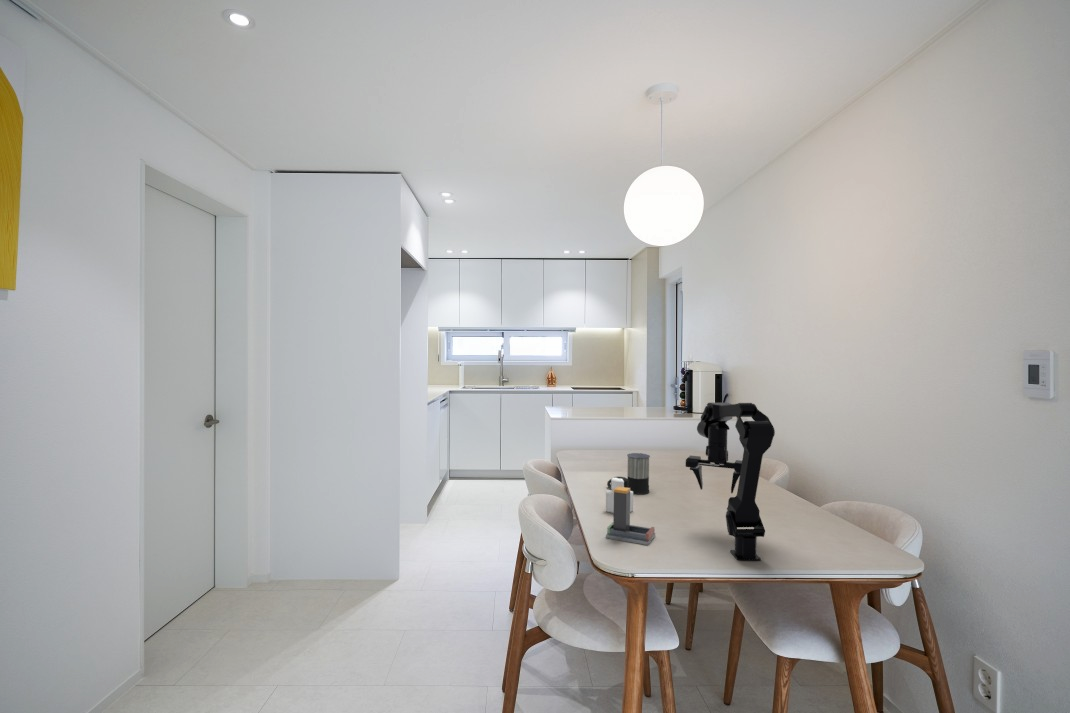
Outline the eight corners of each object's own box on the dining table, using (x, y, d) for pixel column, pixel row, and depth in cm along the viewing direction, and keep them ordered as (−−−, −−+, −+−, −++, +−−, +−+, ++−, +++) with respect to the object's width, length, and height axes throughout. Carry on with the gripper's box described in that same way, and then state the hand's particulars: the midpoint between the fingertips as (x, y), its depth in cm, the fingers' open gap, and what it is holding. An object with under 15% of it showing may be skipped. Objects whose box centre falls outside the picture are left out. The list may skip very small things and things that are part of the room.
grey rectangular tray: (655, 535, 169) (655, 526, 169) (647, 545, 161) (647, 535, 161) (615, 529, 175) (615, 519, 175) (605, 537, 167) (605, 528, 167)
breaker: (629, 530, 170) (630, 488, 170) (625, 534, 167) (626, 491, 166) (617, 528, 172) (617, 486, 172) (613, 532, 168) (613, 489, 168)
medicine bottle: (615, 507, 199) (616, 474, 199) (633, 511, 195) (633, 477, 194) (605, 511, 194) (605, 477, 193) (623, 515, 189) (623, 481, 189)
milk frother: (652, 494, 217) (653, 457, 216) (614, 495, 215) (614, 457, 215) (641, 485, 231) (641, 450, 231) (604, 486, 229) (605, 450, 229)
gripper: (751, 440, 176) (750, 489, 176) (691, 435, 184) (691, 481, 185) (748, 446, 166) (747, 497, 166) (685, 441, 174) (684, 489, 174)
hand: (716, 491), depth 173 cm, fingers open, 9 cm apart
